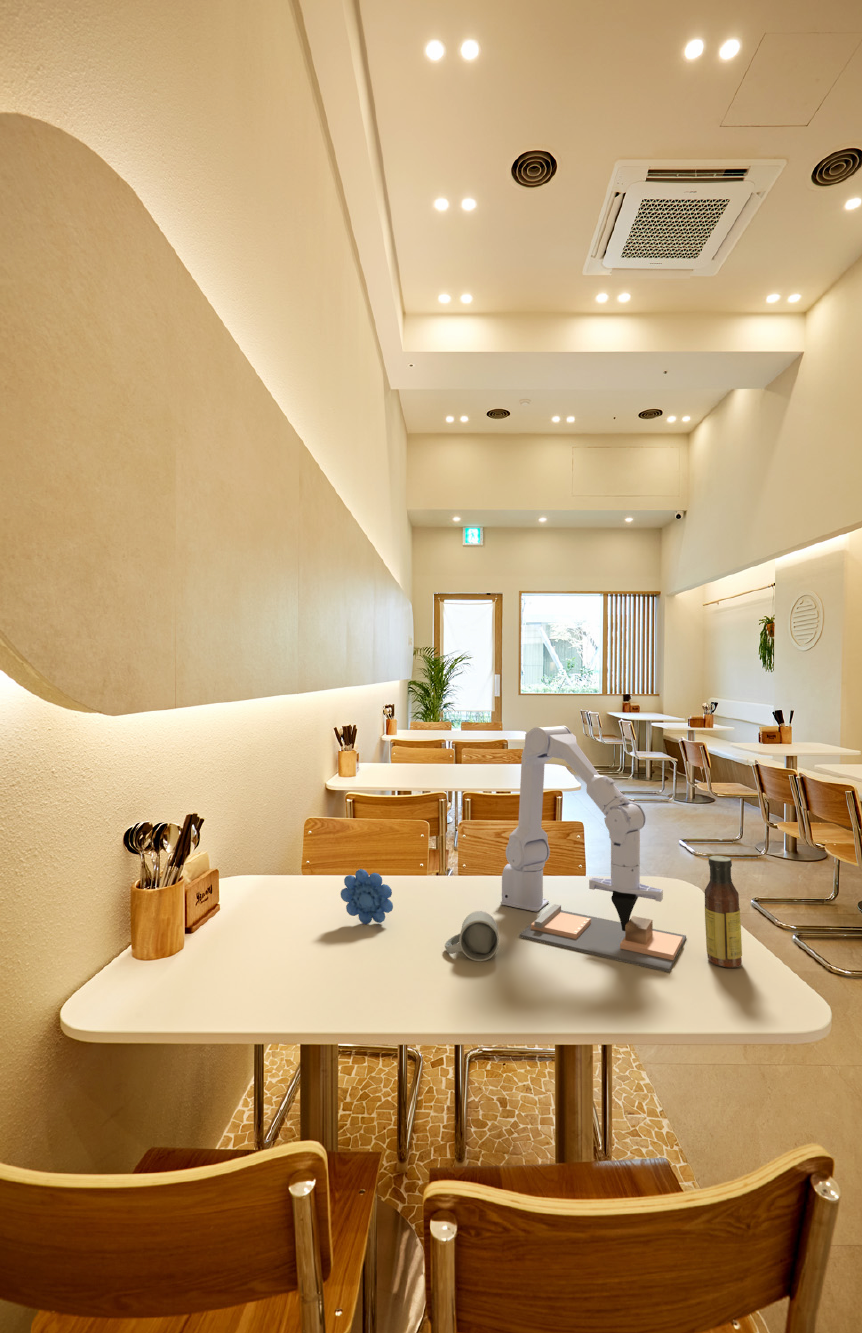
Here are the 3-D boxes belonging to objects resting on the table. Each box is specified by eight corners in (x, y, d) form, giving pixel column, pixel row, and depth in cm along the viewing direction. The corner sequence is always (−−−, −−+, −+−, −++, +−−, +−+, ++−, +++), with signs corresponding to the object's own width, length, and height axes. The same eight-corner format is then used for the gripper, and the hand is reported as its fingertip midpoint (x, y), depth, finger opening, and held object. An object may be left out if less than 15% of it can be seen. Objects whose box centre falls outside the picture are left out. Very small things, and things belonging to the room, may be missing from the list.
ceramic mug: (497, 944, 128) (497, 906, 129) (499, 962, 120) (498, 921, 120) (446, 943, 129) (445, 905, 129) (444, 961, 121) (443, 921, 121)
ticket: (529, 930, 134) (529, 920, 134) (549, 912, 144) (549, 903, 144) (574, 940, 129) (574, 929, 129) (592, 921, 139) (592, 911, 139)
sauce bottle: (739, 957, 123) (739, 855, 123) (744, 971, 117) (743, 864, 117) (703, 953, 125) (702, 852, 125) (706, 966, 119) (705, 860, 119)
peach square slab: (620, 948, 125) (620, 928, 125) (632, 931, 134) (632, 912, 134) (673, 960, 120) (673, 939, 120) (682, 941, 128) (682, 922, 128)
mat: (519, 937, 132) (519, 934, 132) (549, 910, 147) (549, 907, 147) (669, 972, 116) (669, 969, 116) (686, 938, 132) (686, 935, 132)
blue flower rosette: (337, 931, 134) (338, 875, 135) (341, 919, 141) (342, 866, 141) (392, 931, 135) (392, 875, 135) (393, 919, 141) (393, 866, 142)
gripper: (665, 863, 129) (666, 930, 129) (596, 853, 137) (596, 916, 137) (658, 872, 123) (658, 942, 123) (586, 861, 131) (585, 926, 131)
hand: (625, 929), depth 129 cm, fingers closed
